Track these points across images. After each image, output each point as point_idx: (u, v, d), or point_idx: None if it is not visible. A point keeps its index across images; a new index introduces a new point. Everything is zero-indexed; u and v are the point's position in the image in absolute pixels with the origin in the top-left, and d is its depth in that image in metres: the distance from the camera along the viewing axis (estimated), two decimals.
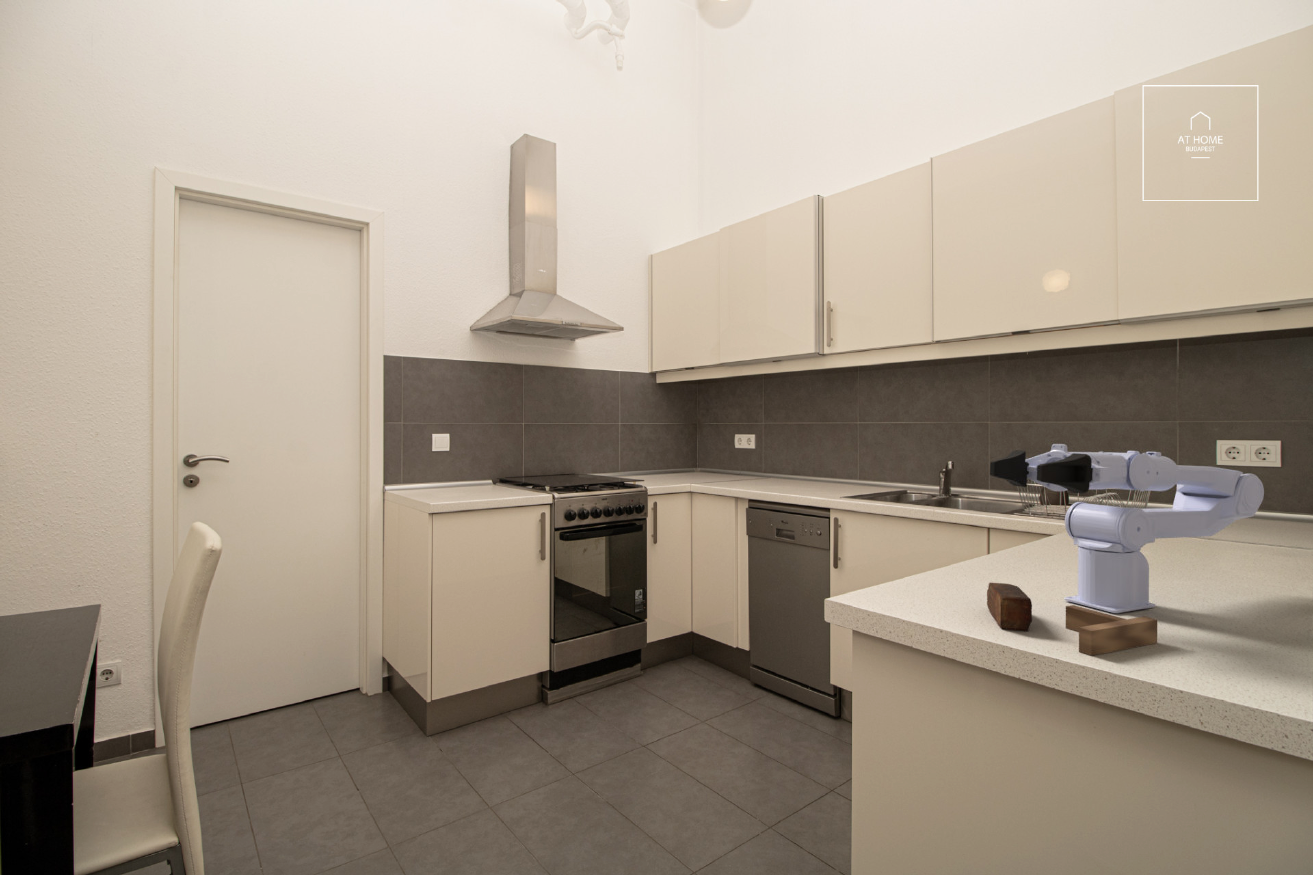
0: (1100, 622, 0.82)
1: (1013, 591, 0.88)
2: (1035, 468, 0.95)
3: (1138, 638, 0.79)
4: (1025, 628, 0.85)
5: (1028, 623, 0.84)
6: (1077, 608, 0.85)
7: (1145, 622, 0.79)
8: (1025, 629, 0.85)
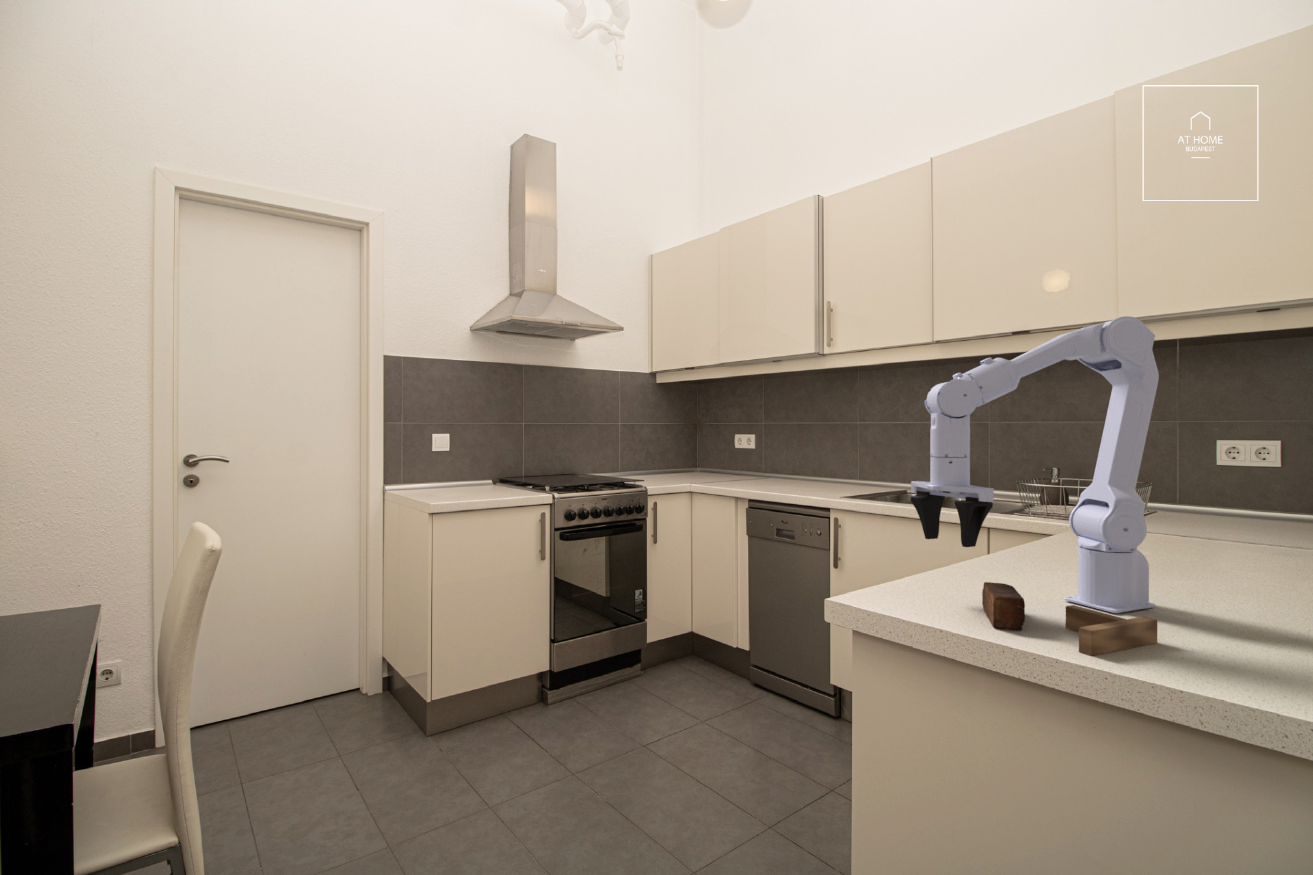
0: (1100, 622, 0.82)
1: (1007, 591, 0.89)
2: (936, 494, 1.02)
3: (1138, 638, 0.79)
4: (1018, 628, 0.85)
5: (1021, 623, 0.85)
6: (1077, 608, 0.85)
7: (1145, 622, 0.79)
8: (1018, 629, 0.85)
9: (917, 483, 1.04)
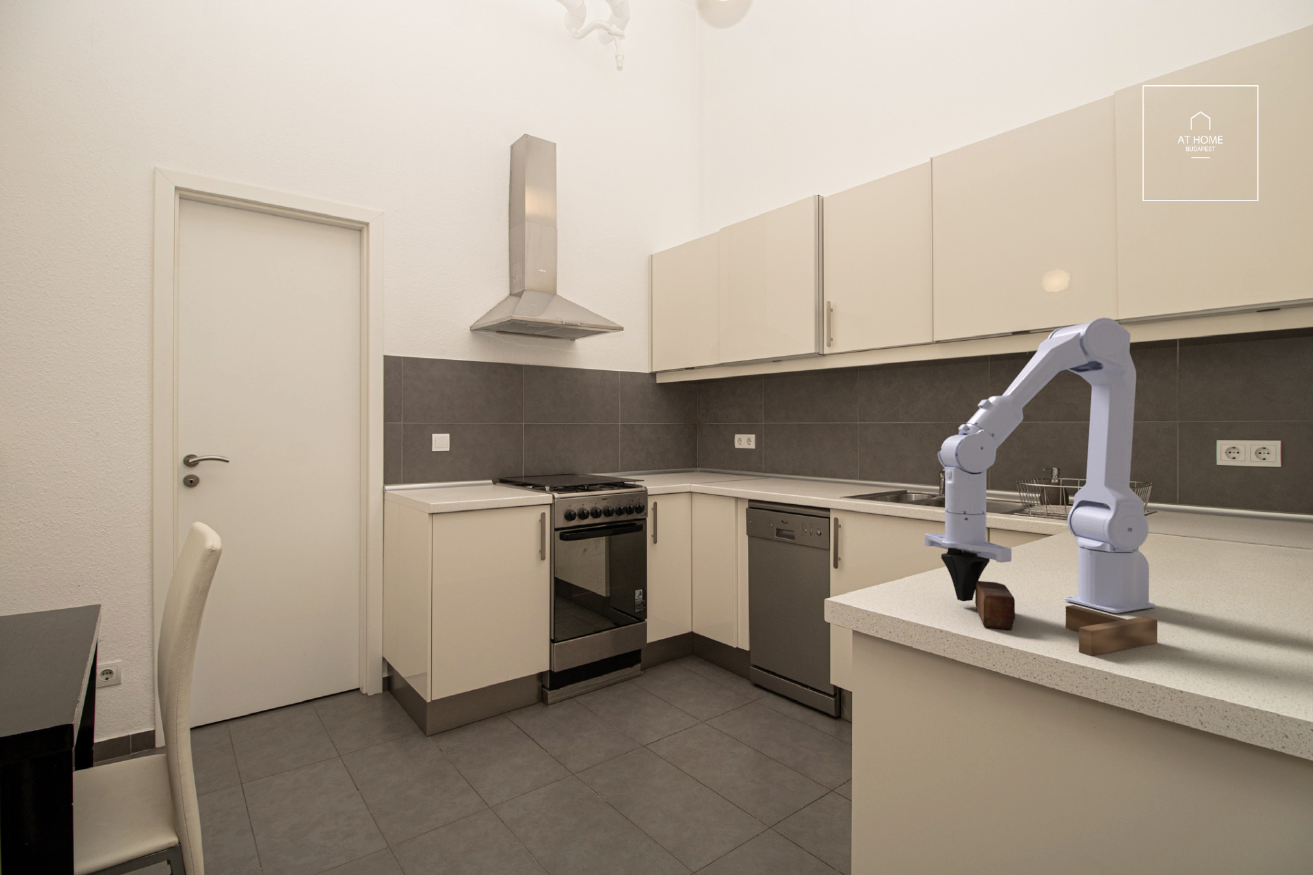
0: (1100, 622, 0.82)
1: (998, 589, 0.89)
2: None
3: (1138, 638, 0.79)
4: (1008, 626, 0.85)
5: (1011, 621, 0.85)
6: (1077, 608, 0.85)
7: (1145, 622, 0.79)
8: (1008, 627, 0.85)
9: (931, 536, 1.01)
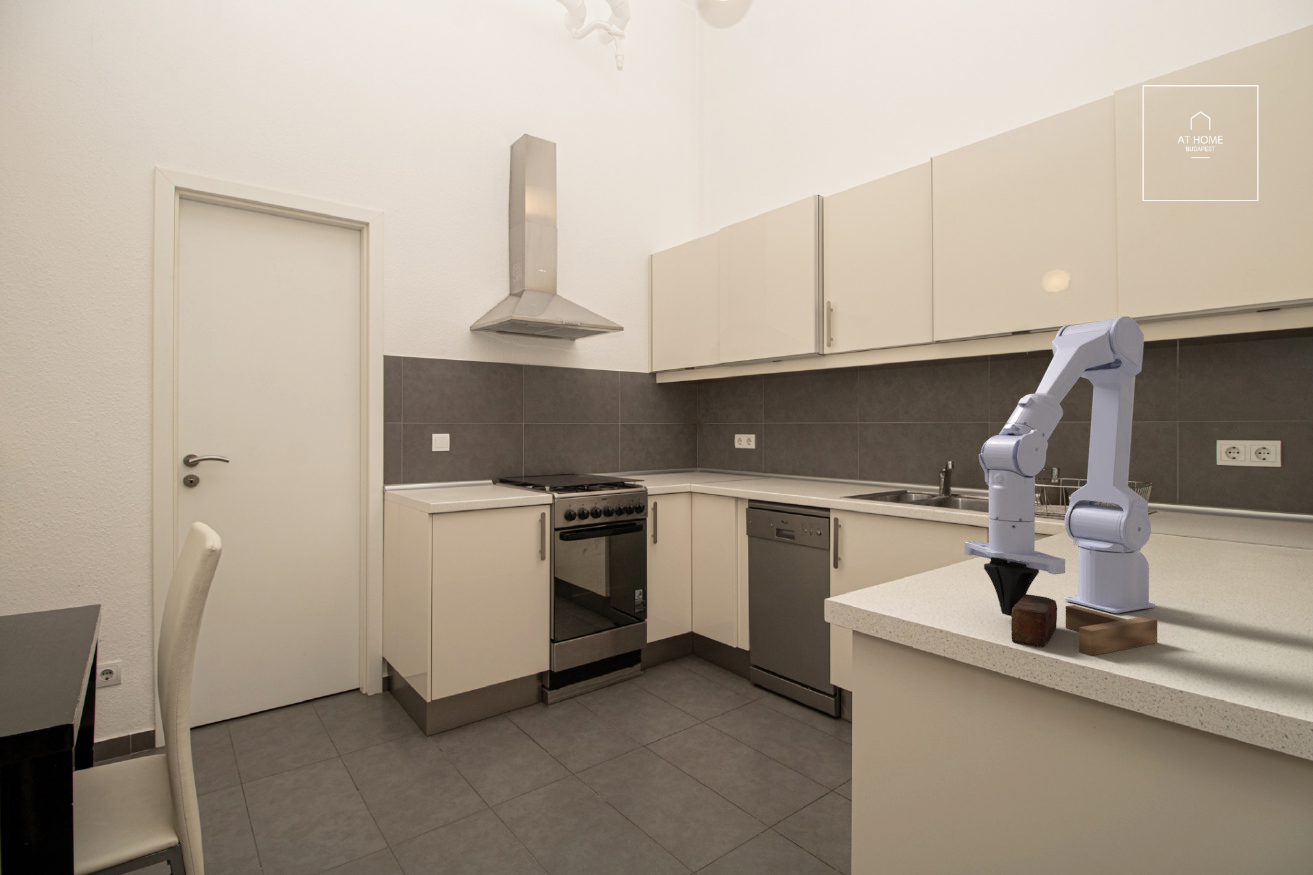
0: (1100, 622, 0.82)
1: (1036, 604, 0.82)
2: None
3: (1138, 638, 0.79)
4: (1038, 643, 0.79)
5: (1041, 638, 0.78)
6: (1077, 608, 0.85)
7: (1145, 622, 0.79)
8: (1038, 644, 0.79)
9: (972, 545, 0.94)
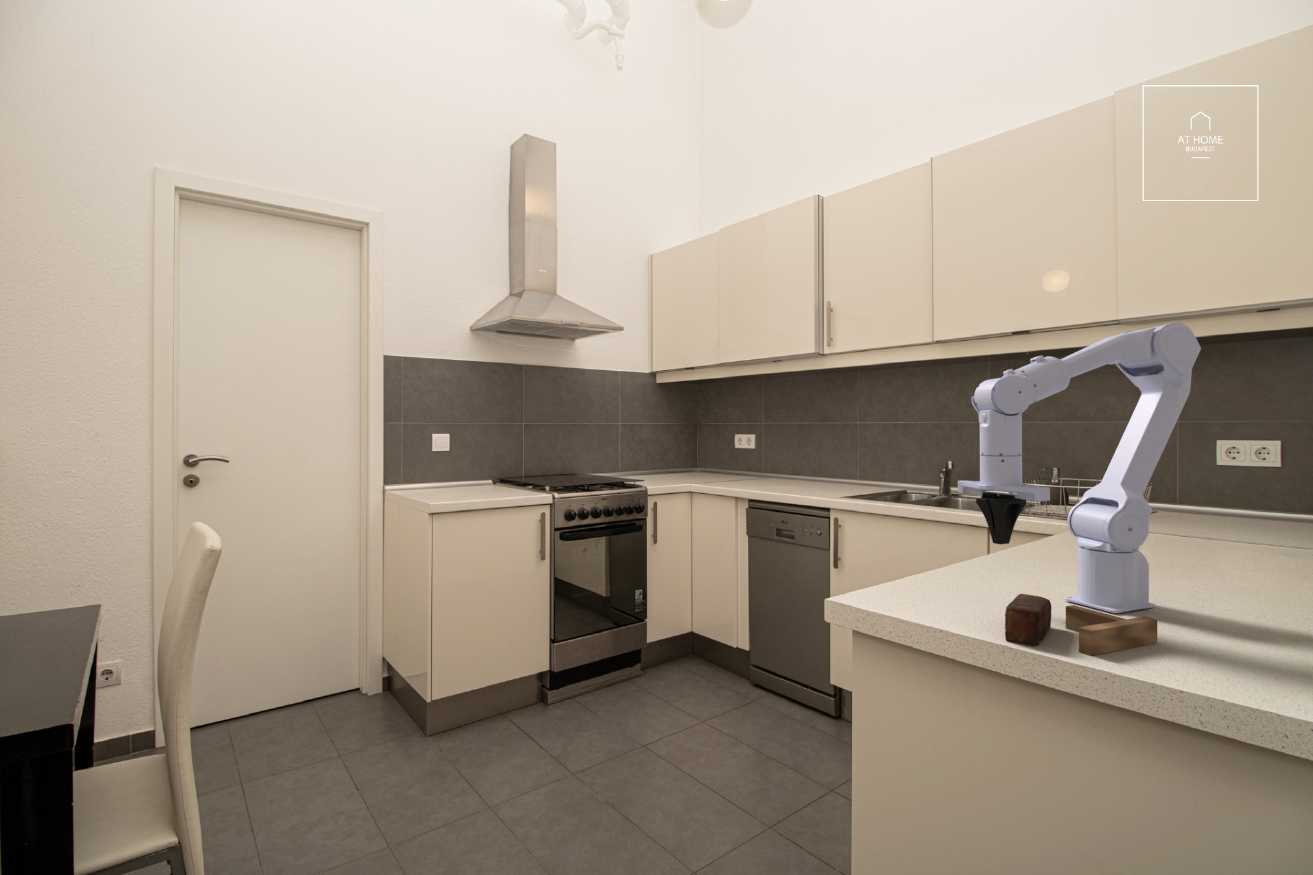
0: (1100, 622, 0.82)
1: (1030, 603, 0.82)
2: None
3: (1138, 638, 0.79)
4: (1031, 642, 0.79)
5: (1034, 637, 0.79)
6: (1077, 608, 0.85)
7: (1145, 622, 0.79)
8: (1031, 643, 0.79)
9: (965, 482, 1.01)
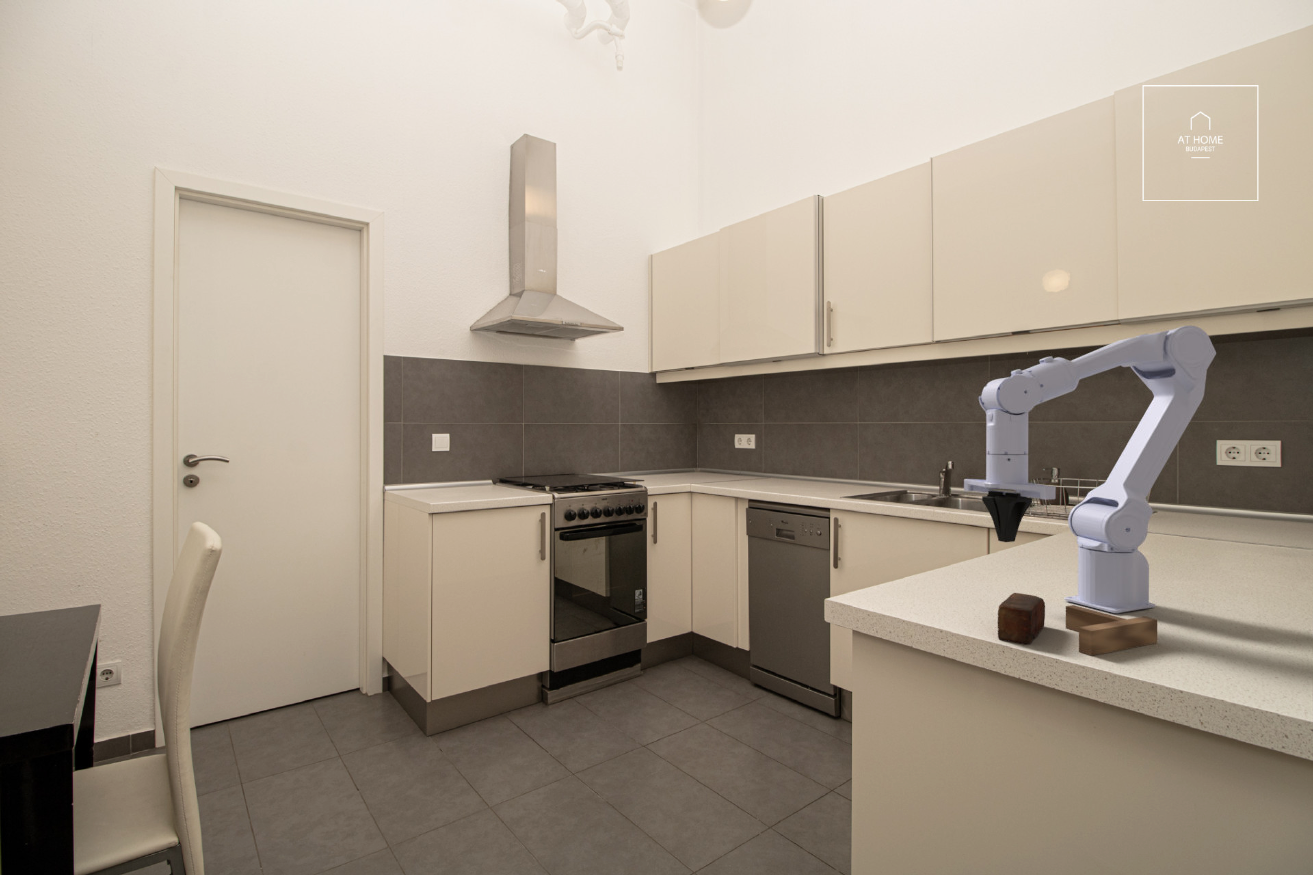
0: (1100, 622, 0.82)
1: (1023, 602, 0.83)
2: None
3: (1138, 638, 0.79)
4: (1023, 641, 0.80)
5: (1027, 636, 0.79)
6: (1077, 608, 0.85)
7: (1145, 622, 0.79)
8: (1023, 642, 0.80)
9: (971, 481, 1.02)
